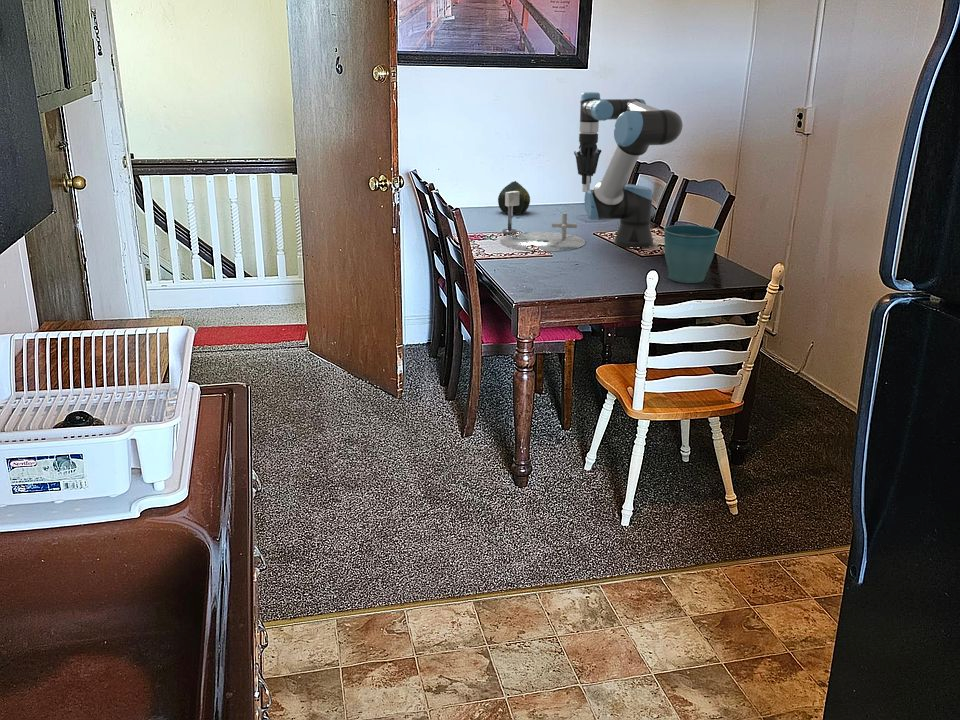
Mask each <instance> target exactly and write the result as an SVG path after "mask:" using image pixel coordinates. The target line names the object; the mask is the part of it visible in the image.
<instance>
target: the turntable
mask: <svg viewBox="0 0 960 720" xmlns="http://www.w3.org/2000/svg"><path fill="white" fill-rule="evenodd" d="M516 234H517V233H516ZM516 234H514V235H516ZM514 235H512V234H507V235H506V236H502V238H500V243H501V244H502V245H503V246H505V245H506V246H505V247H507V246H508V247H507V248H510V247H512V248H511V249H514V248H517V249H516V250H519V249H523V250H522V251H526V250H528V249H529V248H528V247H526V246H530V245H535V246H537V247H539V248H540V249H541V250H543V251H549V253H551V252H564V251H565V252H567V251H572V250H576V249H580V248H582V247H583V246H585V244H586V240H584V238H582V237H580V236H577V235H573V234H568V233H566V238H562V232H554V231H552V232H551V231H527V232H519V236H518V235H516V236H518V237H519V238H516V236H514ZM511 236H512V237H511ZM518 240H519V241H518ZM517 242H518V243H517ZM526 248H528V249H526Z"/></svg>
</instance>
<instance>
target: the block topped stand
mask: <svg viewBox="0 0 960 720" xmlns="http://www.w3.org/2000/svg"><path fill="white" fill-rule="evenodd" d="M519 195H520V192H519V191H511V192H505V206H508V213H507V228H504V229H502V231H501V232H503V233H502V234H504V233H507V234H506V235H511V234H510V233H516V232H517V229H515V228H512V226H513V222H512V219H513V218H514V217H513V216H514V215H513V214H514V211H513V206H517V205H519ZM516 234H517V233H516Z"/></svg>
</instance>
